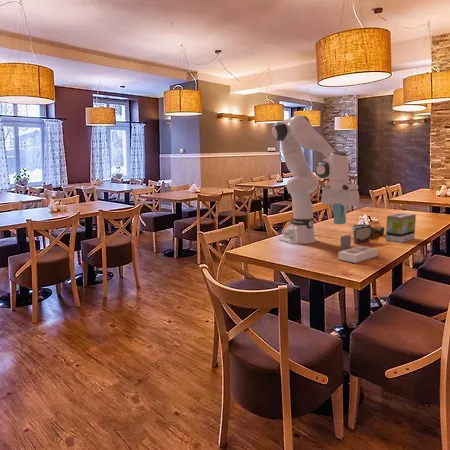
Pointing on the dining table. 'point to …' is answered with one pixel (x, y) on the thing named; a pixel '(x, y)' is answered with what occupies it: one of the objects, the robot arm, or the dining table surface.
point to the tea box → (400, 227)
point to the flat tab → (345, 242)
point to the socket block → (357, 254)
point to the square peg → (339, 214)
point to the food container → (361, 233)
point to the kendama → (376, 231)
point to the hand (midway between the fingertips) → (339, 214)
